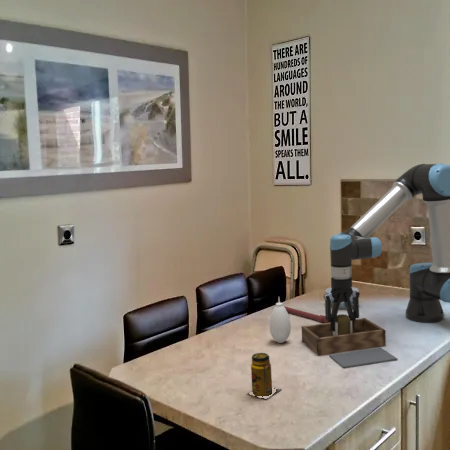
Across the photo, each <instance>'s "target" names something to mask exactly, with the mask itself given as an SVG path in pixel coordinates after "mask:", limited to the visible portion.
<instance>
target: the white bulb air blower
mask: <svg viewBox="0 0 450 450" xmlns="http://www.w3.org/2000/svg"><path fill="white" fill-rule="evenodd" d="M277 300H278V301H277V302H276V303H275V305H276V306H275V305H274V308H273V309H272V312H271V314H270V318H269V332H270V334H271V337H272V339H273V340H274V341H275V342H276V343H279V344H283V343H285V342H286V341H287V340H288V339H289V337H290V334H291V328H292V326H291V320H290V316H289V313H288V312H287V311H286V309H285V307H286V306H285V307H284V303H282V302H281V300H280V297H278V299H277Z"/></svg>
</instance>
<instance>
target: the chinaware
mask: <svg viewBox="0 0 450 450" xmlns="http://www.w3.org/2000/svg"><path fill="white" fill-rule="evenodd" d="M352 290H353V291H357V292H359V291H360V290H359V288H357V287H354V286H352ZM330 292H331V286H330V287H328V288H326V289H325V294H326V295H328V294H330ZM359 293H360V292H359ZM333 300H334V298H333V297H331V304H333ZM350 301H351V305H353V296H352V295H351V297H350ZM339 309H346V306H345V303H344V302H341V303H340V305H339Z"/></svg>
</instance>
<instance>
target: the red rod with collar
mask: <svg viewBox="0 0 450 450" xmlns="http://www.w3.org/2000/svg"><path fill="white" fill-rule="evenodd" d="M275 306H276V304H275V305H274V307H275ZM283 306H284V305H283ZM284 307H285V309H286V311H287V313H288V314H292V315H295V316H300V317H303V318H306V319H309V320H310V319H311V320H313V321H317V322H319V323H320V324H324V323H330V322H328V321H327V320H326V319H325V315H322V314H320V315H318V314H315V313H311V312H307V311H303V310H300V309H297V308H293V307H288V306H286V305H285V306H284Z"/></svg>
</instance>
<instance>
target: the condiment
mask: <svg viewBox="0 0 450 450" xmlns="http://www.w3.org/2000/svg"><path fill="white" fill-rule="evenodd" d="M250 371H251V372H250V373H251V377H250V378H251V388H252V389H251V391H252V392H253V394H254V395H255V396H262V397H263V396H269V395H271V394H272V387H273V384H272V383H273V381H272V379H273V378H272V377H273V376H272V364H271V361H270V355H269V354H268V353H265V352H255V353H253V354H252V356H251V365H250ZM275 388H276V387H274V389H275ZM277 388H278V387H277ZM281 390H282V388H278V389H276V392H277V393H279V392H280V391H281ZM275 394H276V393H274V395H275Z"/></svg>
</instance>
